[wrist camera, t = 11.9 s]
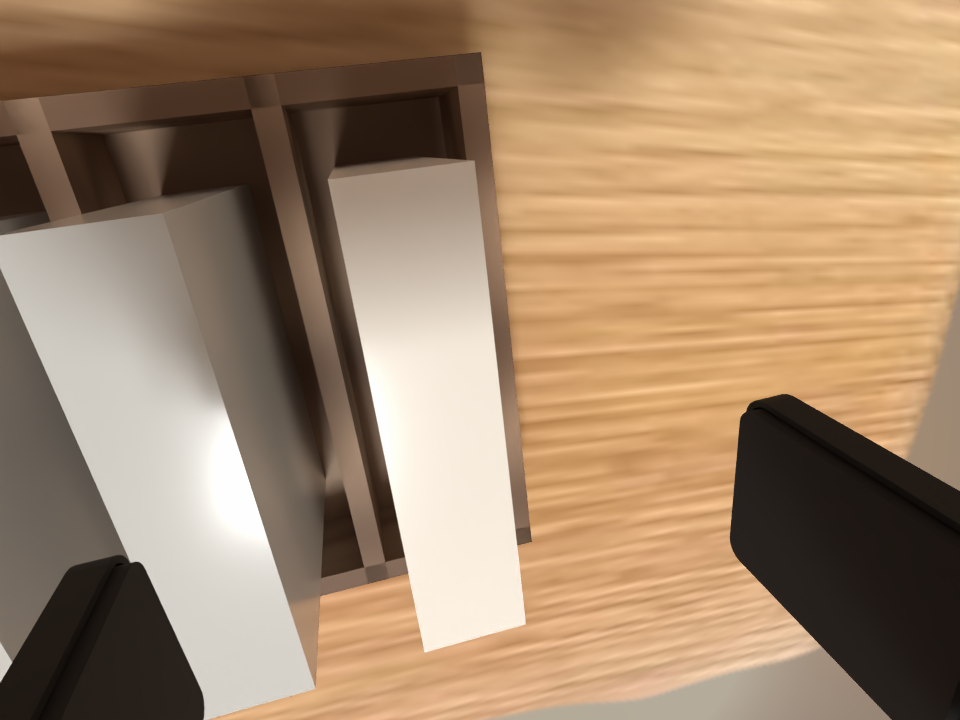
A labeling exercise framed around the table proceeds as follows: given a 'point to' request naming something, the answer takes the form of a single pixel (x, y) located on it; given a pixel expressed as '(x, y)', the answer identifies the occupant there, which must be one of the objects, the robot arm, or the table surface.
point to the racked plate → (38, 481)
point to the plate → (434, 385)
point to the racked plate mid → (189, 423)
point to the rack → (286, 230)
